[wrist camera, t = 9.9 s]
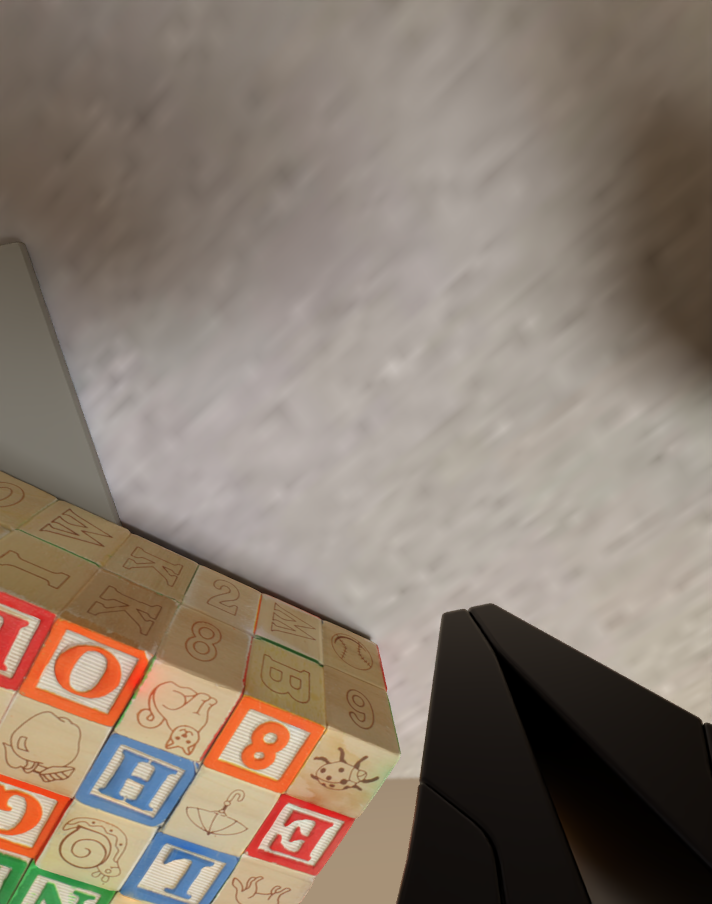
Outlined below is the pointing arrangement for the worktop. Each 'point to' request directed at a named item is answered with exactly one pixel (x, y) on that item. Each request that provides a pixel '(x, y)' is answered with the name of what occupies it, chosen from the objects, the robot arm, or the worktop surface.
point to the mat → (42, 398)
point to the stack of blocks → (169, 722)
